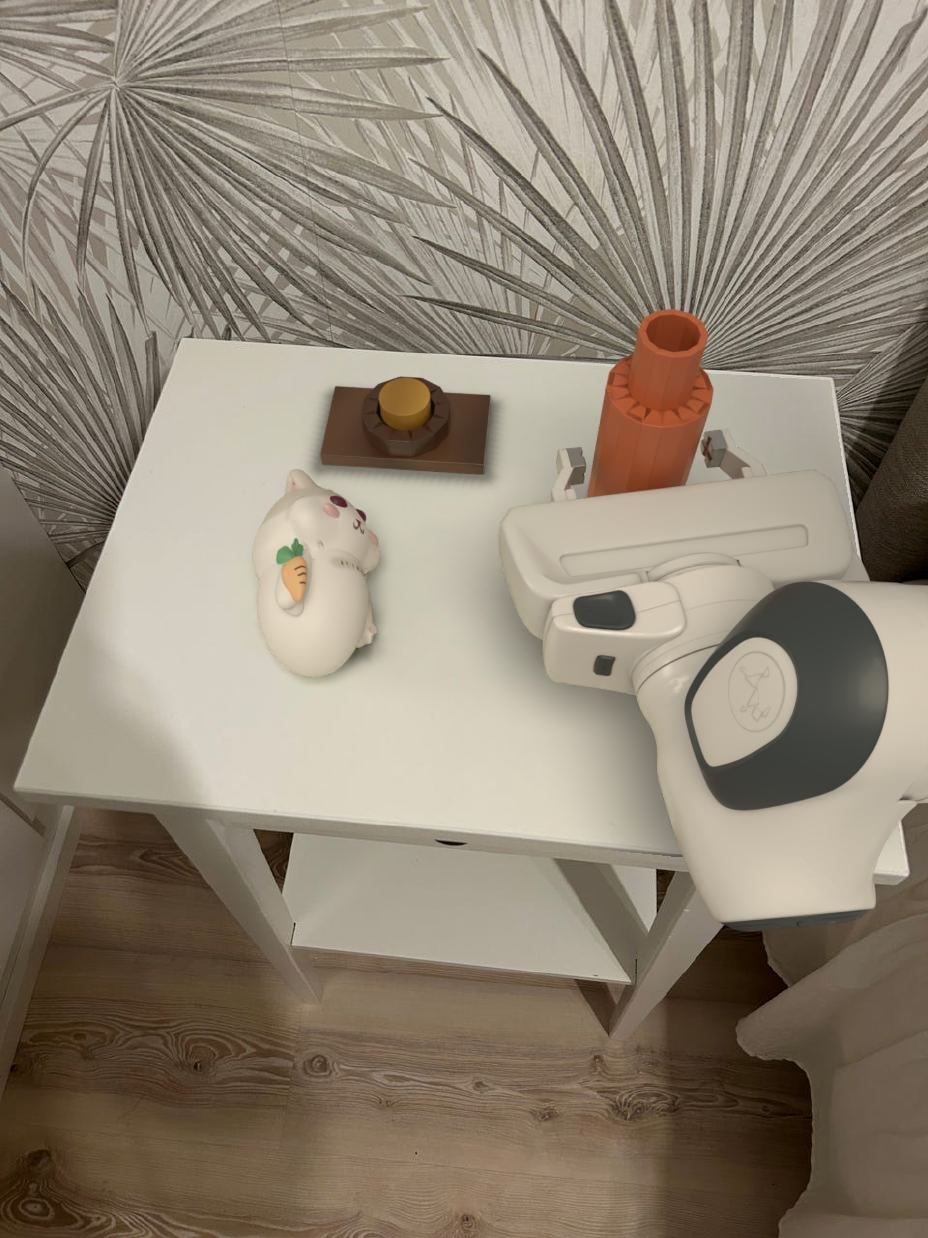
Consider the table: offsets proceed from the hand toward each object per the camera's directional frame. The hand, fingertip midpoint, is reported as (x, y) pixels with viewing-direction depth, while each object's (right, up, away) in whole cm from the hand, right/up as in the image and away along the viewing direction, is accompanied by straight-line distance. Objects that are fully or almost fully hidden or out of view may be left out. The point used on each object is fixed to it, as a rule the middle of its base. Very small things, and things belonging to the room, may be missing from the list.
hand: (640, 445), depth 57 cm
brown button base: (-16, +4, +17) cm, 23 cm away
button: (-16, +5, +14) cm, 22 cm away
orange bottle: (0, -7, +10) cm, 12 cm away
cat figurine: (-22, -10, +9) cm, 25 cm away
